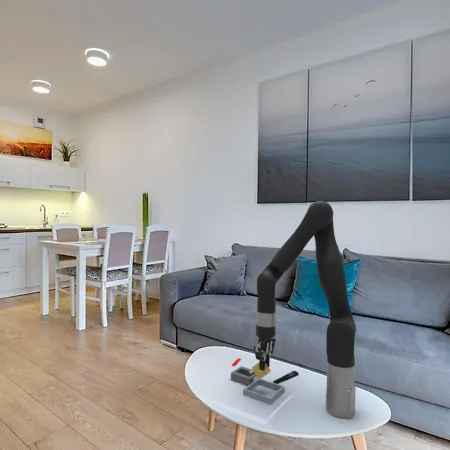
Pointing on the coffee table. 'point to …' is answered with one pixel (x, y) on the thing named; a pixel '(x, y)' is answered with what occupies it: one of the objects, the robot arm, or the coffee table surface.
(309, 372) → the coffee table surface
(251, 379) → the block
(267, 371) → the block
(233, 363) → the swiss army knife
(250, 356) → the coffee table surface
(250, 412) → the coffee table surface
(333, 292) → the robot arm
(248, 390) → the tray
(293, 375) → the electric trimmer
